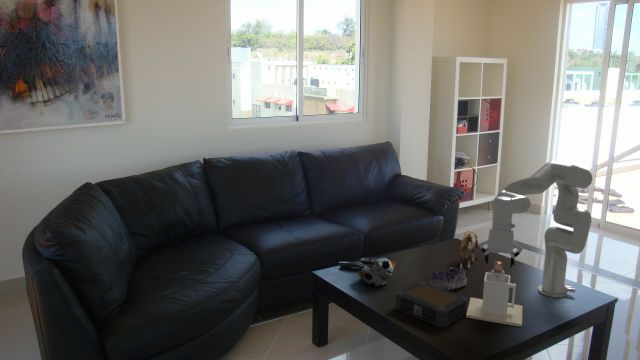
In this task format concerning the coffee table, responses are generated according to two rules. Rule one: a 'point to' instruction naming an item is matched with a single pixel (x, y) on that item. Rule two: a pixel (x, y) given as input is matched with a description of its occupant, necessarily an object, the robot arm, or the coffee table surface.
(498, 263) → the plunger
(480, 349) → the coffee table surface
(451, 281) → the geode
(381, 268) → the lucky cat figurine
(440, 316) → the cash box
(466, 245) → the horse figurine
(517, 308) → the square white mug
